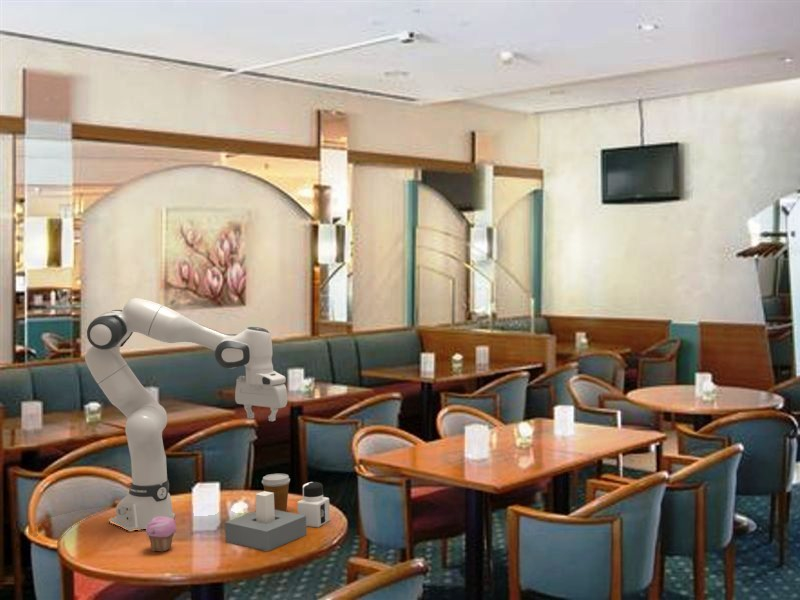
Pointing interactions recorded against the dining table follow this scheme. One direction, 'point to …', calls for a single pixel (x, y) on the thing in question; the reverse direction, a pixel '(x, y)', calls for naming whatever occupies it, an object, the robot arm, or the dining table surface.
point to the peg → (265, 507)
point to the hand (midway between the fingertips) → (261, 419)
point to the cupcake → (161, 533)
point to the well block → (265, 530)
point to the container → (314, 505)
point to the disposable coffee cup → (277, 489)
